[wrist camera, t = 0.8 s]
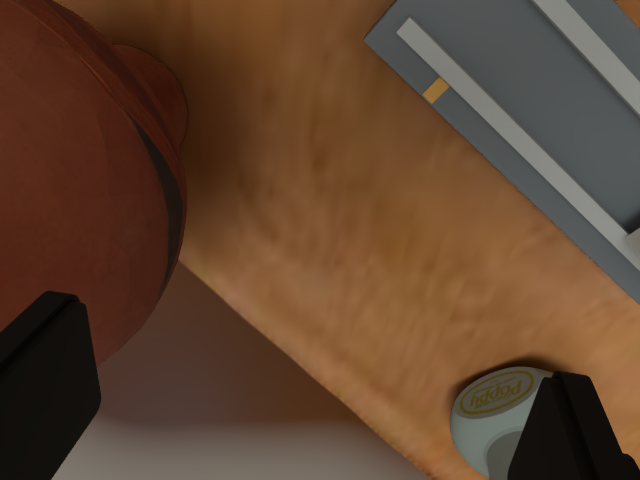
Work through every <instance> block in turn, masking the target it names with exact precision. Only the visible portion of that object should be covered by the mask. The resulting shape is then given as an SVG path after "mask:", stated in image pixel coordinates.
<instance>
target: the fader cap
mask: <svg viewBox="0 0 640 480" xmlns="http://www.w3.org/2000/svg"><path fill="white" fill-rule="evenodd" d="M625 238H626V239H627V241H628V242H629V243H630V245H631V246H632V247H633V249H634V250H635V251H636V253H637V254H638V255H639V257H640V228H638V229H637V230H636V231H634V232H633V233H631V234H630V235H628V236H627V237H625Z"/></svg>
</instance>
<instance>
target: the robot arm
mask: <svg viewBox="0 0 640 480" xmlns="http://www.w3.org/2000/svg"><path fill="white" fill-rule="evenodd" d="M100 403H101V393H100V386H99V380H98V374H97V369H96V362H95V356H94V350H93V344H92V338H91V332H90V326H89V320H88V314H87V308H86V305H85V304H84V303H81V302H80V300H79V298H78V296H77V295H74V294H69V293H63V292H56V291H46V292H44V293H43V294H41V295H40V296H39V297H38V298H37V299H36V300H35V301H34V302H33V303H32V304H31V305H29V306H28V307H27V308H26V309H25V310H24V311H23V312H22V313H21V314H20V315H19V316H17V317H16V318H15V319H14V320H13V321H12V322H11V323H10V324H9V325H8V326H7V327H5V328H4V329H3V330H2V331H1V332H0V480H51V479H52V477H53V476H54V474H55V473H56V472H57V470H58V469H59V467H60V466H61V464H62V463H63V461H64V460H65V458H66V457H67V455H68V454H69V453H70V451H71V450H72V448H73V447H74V445H75V444H76V442H77V441H78V439H79V438H80V436H81V435H82V434H83V432H84V431H85V429H86V428H87V426H88V425H89V423H90V422H91V421H92V419H93V418H94V416H95V414H96V413H97V411H98V409H99V406H100ZM507 480H640V470H639V468H638V466H637V464H636V463H635V461H634V459H633V458H632V457H631V456H629V455H628V454H624V453H622V451H621V449H620V446H619V444H618V441H617V439H616V437H615V434H614V432H613V430H612V427H611V425H610V423H609V420H608V418H607V416H606V413H605V411H604V409H603V406H602V404H601V402H600V399H599V397H598V394H597V392H596V390H595V387H594V385H593V383H592V381H591V379H590V377H588V376H587V375H580V374H574V373H568V372H561V371H555V372H554V373H553V375H552V377H544V378H543V379H542V381H541V383H540V386H539V388H538V391H537V394H536V396H535V399H534V402H533V404H532V407H531V410H530V413H529V415H528V418H527V421H526V423H525V426H524V429H523V431H522V434H521V437H520V439H519V442H518V445H517V447H516V450H515V453H514V455H513V458H512V461H511V463H510V466H509V469H508V475H507Z"/></svg>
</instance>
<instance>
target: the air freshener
mask: <svg viewBox="0 0 640 480" xmlns="http://www.w3.org/2000/svg"><path fill="white" fill-rule="evenodd" d="M552 375H553V373H552V372H548V371H545V370H542V369H537V368H532V367H511V368H506V369H502V370H498V371H495V372H493V373H490V374H488V375H486V376H483V377H482V378H480V379H478V380H476V381H475V382H473V383H472V384H470V385H469V386H467V387H466V388H465V389H464V390H463V391H462V392H461V393H460V394H459V396H458V397H457V398H456V400H455V403H454V405H453V407H452V410H451V415H450V432H451V436H452V440H453V443H454V445H455V447H456V448H457V450H458V452H459V454H460V455H461V456H462V457H463V459H464V460H465V461H466V462H467V463H468V464H469V465H470V466H471V467H473V468H474V469H475V470H476V471H478V472H480V473H481V474H483V475H484V476H486V477H489V479H490V480H507V475H508V469H509V466H510V463H511V461H512V458H513V455H514V453H515V450H516V447H517V445H518V442H519V439H520V437H521V434H522V431H523V429H524V426H525V423H526V421H527V418H528V415H529V413H530V410H531V407H532V404H533V402H534V399H535V396H536V394H537V391H538V388H539V386H540V383H541V381H542V379H543V378H544V377H552Z"/></svg>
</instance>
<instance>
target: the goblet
mask: <svg viewBox="0 0 640 480" xmlns="http://www.w3.org/2000/svg"><path fill="white" fill-rule="evenodd" d="M187 118H188V110H187V105H186V100H185V97H184V94H183V91H182V88H181V85H180V83H179V82H178V81H177V79H176V78H175V77H174V75H173V74H172V73H171V72H170V70H169V69H168V68H167V67H166V66H165V65H163V64H162V63H161V62H159V61H158V60H156V59H155V58H153V57H152V56H150V55H149V54H147V53H145V52H143V51H141V50H139V49H137V48H134V47H130V46H126V45H113V44H112V43H110V42H109V41H108V40H107V39H106V38H105V37H104V36H103V35H101V34H100V33H99V32H98V31H97V30H96V29H95V28H93V27H92V26H91V25H90V24H89V23H88V22H86V21H85V20H84V19H82V18H81V17H79V16H78V15H77V14H75V13H74V12H72V11H71V10H69V9H67V8H65V7H63V6H61V5H60V4H58V3H56V2H54V1H52V0H0V332H1V331H2V330H3V329H4V328H5V327H7V326H8V325H9V324H10V323H11V322H12V321H13V320H14V319H15V318H16V317H17V316H19V315H20V314H21V313H22V312H23V311H24V310H25V309H26V308H27V307H28V306H29V305H31V304H32V303H33V302H34V301H35V300H36V299H37V298H38V297H39V296H40V295H41V294H43V293H44V292H46V291H56V292H63V293H69V294H74V295H77V296H78V298H79V300H80V302H81V303H84V304H85V305H86V308H87V314H88V320H89V326H90V332H91V338H92V344H93V350H94V356H95V362H96V368H97V367H98V366H99V365H101V364H102V363H103V362H104V361H106V360H107V359H108V358H110V357H111V356H112V355H113V354H115V353H116V352H117V351H119V350H120V349H121V348H122V347H123V346H124V345H125V344H126V343H127V342H128V341H129V340H130V339H131V338H132V337H133V336H134V335H135V334H136V333H137V332H138V331H139V330H140V329H141V327H142V326H143V325H144V323H145V322H146V321H147V319H148V318H149V316H150V315H151V313H152V312H153V310H154V309H155V307H156V305H157V303H158V301H159V300H160V298H161V296H162V294H163V292H164V290H165V288H166V287H167V284H168V282H169V280H170V277H171V275H172V273H173V271H174V268H175V266H176V264H177V261H178V258H179V254H180V250H181V246H182V241H183V235H184V229H185V222H186V211H187V188H186V178H185V168H184V165H183V161H182V157H181V153H180V149H179V146H180V145H181V143H182V141H183V139H184V137H185V130H186V123H187Z"/></svg>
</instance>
